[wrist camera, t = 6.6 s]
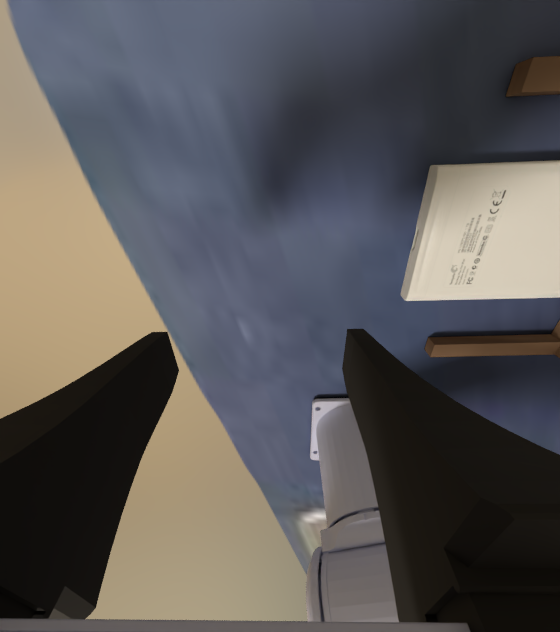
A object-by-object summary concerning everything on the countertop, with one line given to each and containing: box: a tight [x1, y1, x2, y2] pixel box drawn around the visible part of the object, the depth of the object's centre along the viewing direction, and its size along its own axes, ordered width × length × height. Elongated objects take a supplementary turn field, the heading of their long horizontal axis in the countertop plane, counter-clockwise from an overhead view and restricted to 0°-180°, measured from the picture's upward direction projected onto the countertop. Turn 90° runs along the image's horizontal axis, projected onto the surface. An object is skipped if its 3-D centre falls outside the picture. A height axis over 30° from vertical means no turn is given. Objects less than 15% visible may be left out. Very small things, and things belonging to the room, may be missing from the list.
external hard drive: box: [401, 160, 560, 301], centre depth 16 cm, size 2×8×12 cm
